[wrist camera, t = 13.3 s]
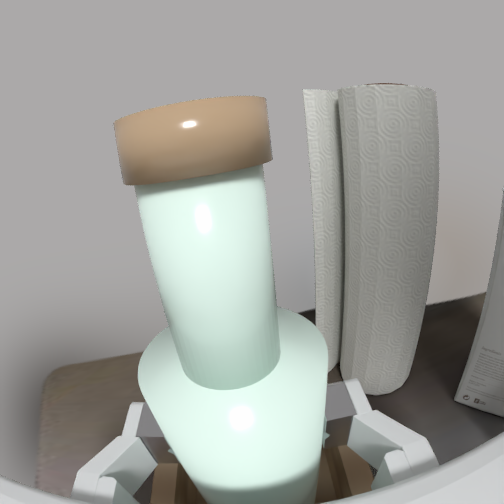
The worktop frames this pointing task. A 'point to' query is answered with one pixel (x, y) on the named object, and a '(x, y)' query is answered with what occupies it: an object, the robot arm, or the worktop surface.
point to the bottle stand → (328, 487)
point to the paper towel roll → (373, 224)
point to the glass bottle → (223, 306)
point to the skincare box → (488, 343)
